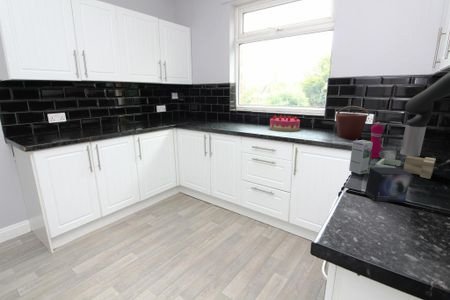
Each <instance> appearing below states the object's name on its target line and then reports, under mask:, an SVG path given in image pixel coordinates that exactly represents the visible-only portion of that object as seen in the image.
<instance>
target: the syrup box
mask: <svg viewBox="0 0 450 300" xmlns="http://www.w3.org/2000/svg"><path fill="white" fill-rule="evenodd" d="M370 141H371V140H365V139H361V140H359V139H358V140H353V141H352V145H351V153H350V161H349V168H348V169H349V172H352V173H355V174H358V175H363V174H367V173H368V174H369V169H370V166H371V165H370V162H371V152H372V145H373V142H370Z"/></svg>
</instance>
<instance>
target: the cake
mask: <svg viewBox="0 0 450 300" xmlns="http://www.w3.org/2000/svg"><path fill="white" fill-rule="evenodd" d="M300 122H301V120H300V119H298V117H297V116H293V117H291V115H288V117H286V116H285V115H284V116H283V115H280V116H279V117H278V116H277V115H273V117H272V118H270V119H269V129H270V130H271V131H276V132H297V131H299V130H300V127H301V126H300V124H301V123H300Z"/></svg>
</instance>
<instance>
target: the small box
mask: <svg viewBox="0 0 450 300" xmlns="http://www.w3.org/2000/svg"><path fill="white" fill-rule="evenodd" d="M411 177H412V173H409V172H406V171H404V170H403V168H400V167H395V168H389V167H375V166H369V171H368V176H367V179H366V180H367V181H366V185H365V191H364V195H365V196H366V197H368V198H369V199H371V200H372V201H373V202H375V203H380V202H381V203H405V202H406V198H407V194H408V190H409V186H410V182H411Z"/></svg>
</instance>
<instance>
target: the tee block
mask: <svg viewBox="0 0 450 300" xmlns="http://www.w3.org/2000/svg"><path fill="white" fill-rule="evenodd" d="M436 159H437V158H434V157H427V156H426V157H424V158H423V157H420V156H419V157H412V156H406V155H405V161H404V164H403V168H402V170H404V171H406V172H409V173H411V174H414V175H419V177H420V178H425V179H429V180H430V179H431V178H432V176H433V171H434V167H435V163H436Z"/></svg>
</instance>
